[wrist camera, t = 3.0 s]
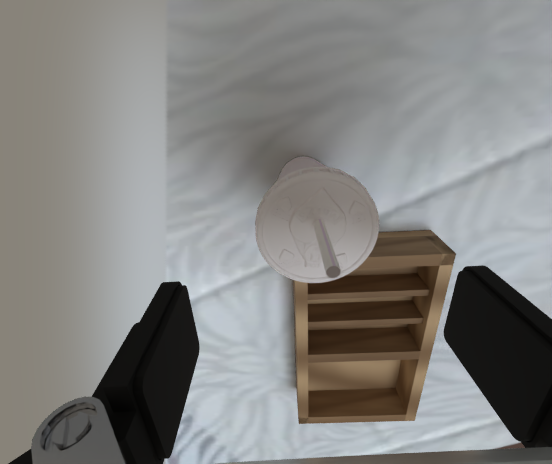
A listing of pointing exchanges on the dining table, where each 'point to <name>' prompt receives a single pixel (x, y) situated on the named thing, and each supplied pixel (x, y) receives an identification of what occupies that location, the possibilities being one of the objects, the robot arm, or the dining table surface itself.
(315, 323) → the wooden shelf
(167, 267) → the dining table surface
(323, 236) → the smoothie
